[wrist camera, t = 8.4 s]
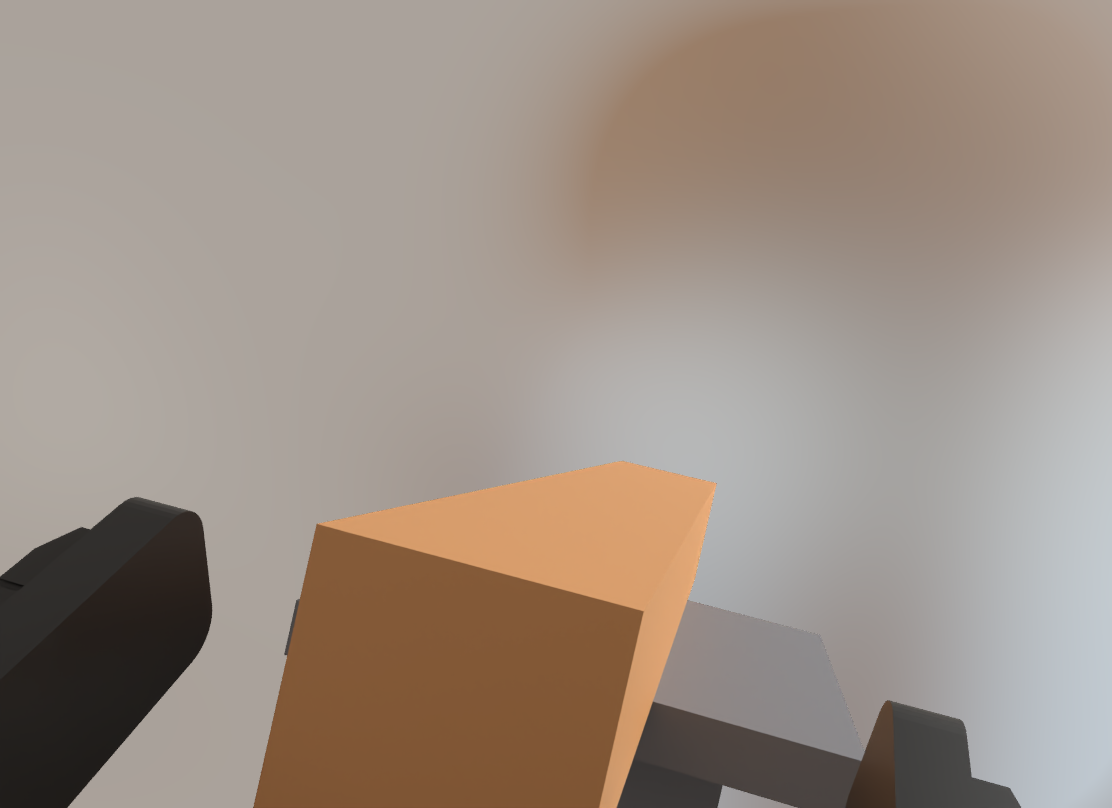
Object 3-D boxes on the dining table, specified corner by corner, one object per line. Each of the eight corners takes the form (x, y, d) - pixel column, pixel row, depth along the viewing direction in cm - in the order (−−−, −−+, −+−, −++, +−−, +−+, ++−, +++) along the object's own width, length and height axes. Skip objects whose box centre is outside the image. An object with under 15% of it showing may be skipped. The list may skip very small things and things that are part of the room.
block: (694, 578, 30) (716, 483, 30) (564, 959, 8) (644, 611, 8) (600, 554, 30) (621, 460, 30) (243, 850, 9) (316, 523, 9)
